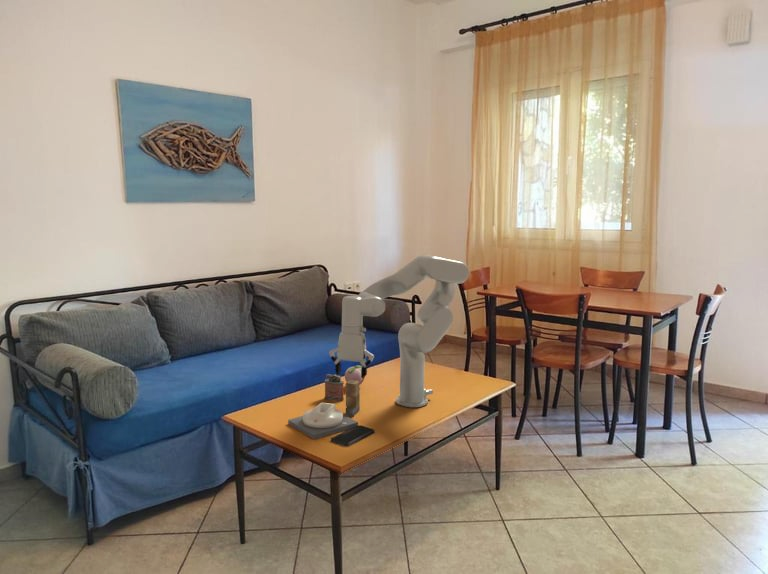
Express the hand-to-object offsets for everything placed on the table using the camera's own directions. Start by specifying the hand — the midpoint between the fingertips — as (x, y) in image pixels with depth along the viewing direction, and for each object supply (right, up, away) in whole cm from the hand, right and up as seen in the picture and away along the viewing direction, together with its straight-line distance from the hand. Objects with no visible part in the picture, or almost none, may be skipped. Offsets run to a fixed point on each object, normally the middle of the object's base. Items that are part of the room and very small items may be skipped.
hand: (351, 375), depth 202 cm
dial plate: (-9, -16, -9) cm, 21 cm away
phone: (+2, -18, -19) cm, 26 cm away
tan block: (+1, -14, +2) cm, 15 cm away
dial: (-9, -14, -10) cm, 20 cm away
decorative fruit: (0, -10, +32) cm, 34 cm away
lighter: (-8, -12, +17) cm, 23 cm away
